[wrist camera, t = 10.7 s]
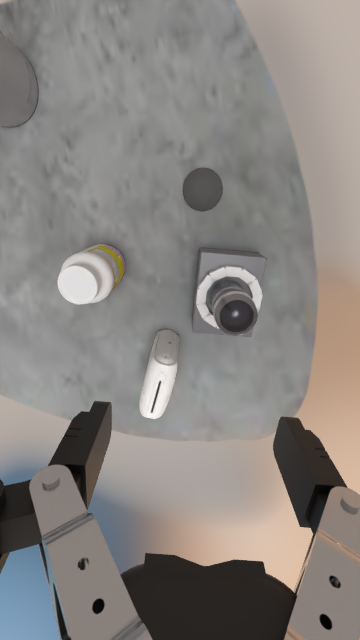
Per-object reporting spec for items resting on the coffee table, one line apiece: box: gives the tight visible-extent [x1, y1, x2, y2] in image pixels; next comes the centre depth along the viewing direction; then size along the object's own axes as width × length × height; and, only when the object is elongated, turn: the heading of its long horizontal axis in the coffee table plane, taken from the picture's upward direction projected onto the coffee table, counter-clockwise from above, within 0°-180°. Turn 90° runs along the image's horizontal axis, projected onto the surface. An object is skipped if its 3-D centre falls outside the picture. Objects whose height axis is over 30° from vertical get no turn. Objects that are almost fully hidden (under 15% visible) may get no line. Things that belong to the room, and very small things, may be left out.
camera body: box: [192, 248, 267, 337], centre depth 43 cm, size 9×12×6 cm
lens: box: [210, 280, 258, 335], centre depth 38 cm, size 5×5×8 cm
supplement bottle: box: [58, 244, 125, 304], centre depth 39 cm, size 7×7×13 cm
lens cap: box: [183, 168, 223, 211], centre depth 41 cm, size 6×6×1 cm
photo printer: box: [139, 329, 179, 419], centre depth 45 cm, size 10×4×12 cm, turn 165°
